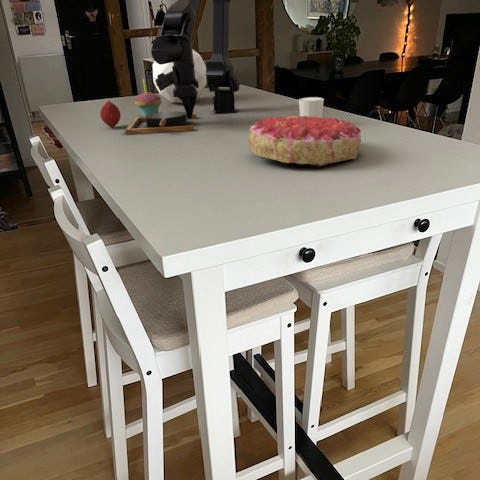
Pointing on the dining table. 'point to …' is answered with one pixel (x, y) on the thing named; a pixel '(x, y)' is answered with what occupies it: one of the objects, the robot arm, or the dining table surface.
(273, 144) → the cake
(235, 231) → the dining table surface
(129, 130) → the pan rest
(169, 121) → the pan
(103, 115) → the onion
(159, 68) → the geometric orb
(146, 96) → the cupcake
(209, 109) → the dining table surface
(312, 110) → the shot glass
